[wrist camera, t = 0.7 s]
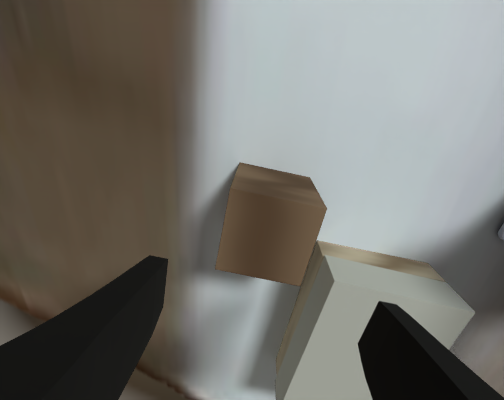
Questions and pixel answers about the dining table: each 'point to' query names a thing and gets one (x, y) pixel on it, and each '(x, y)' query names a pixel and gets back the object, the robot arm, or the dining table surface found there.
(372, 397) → the robot arm
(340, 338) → the slab top
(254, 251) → the walnut block
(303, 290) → the slab bottom
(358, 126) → the dining table surface
